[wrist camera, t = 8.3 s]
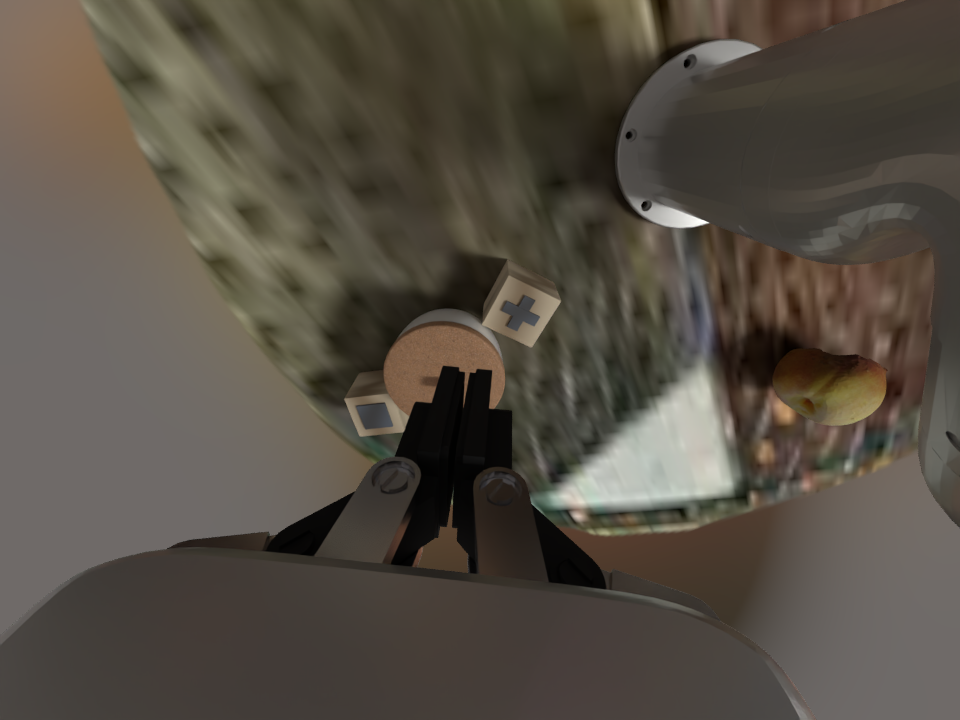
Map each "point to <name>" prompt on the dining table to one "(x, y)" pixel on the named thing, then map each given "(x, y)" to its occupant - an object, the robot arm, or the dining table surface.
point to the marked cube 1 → (374, 406)
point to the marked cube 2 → (520, 304)
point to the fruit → (829, 385)
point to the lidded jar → (440, 356)
